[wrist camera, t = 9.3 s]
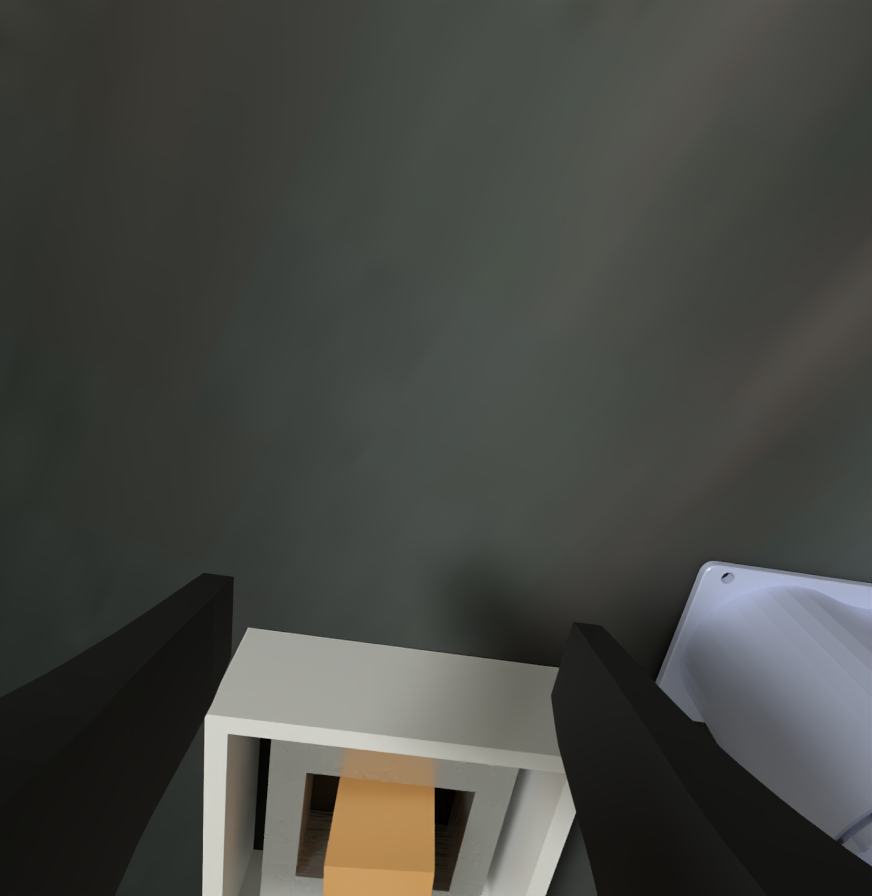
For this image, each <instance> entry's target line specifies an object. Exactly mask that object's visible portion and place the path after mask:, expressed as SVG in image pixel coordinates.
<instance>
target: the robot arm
mask: <svg viewBox="0 0 872 896" xmlns="http://www.w3.org/2000/svg"><path fill="white" fill-rule="evenodd" d="M725 573H729V574H728V575H727V576H726V577H724V578H721V577H722V576H723V575H724V574H725ZM233 582H234V577H230V576H223V575H215V574H208V573H203V574H202V575H200V576H199V577H197V578H196V579H194V580H193V581H191V582H190V583H188V584H187V585H185V586H184V587H182V588H181V589H179V590H178V591H176V592H175V593H174V594H172V595H171V596H169V597H168V598H166V599H165V600H163V601H162V602H160V603H159V604H158V605H156V606H155V607H153V608H152V609H150V610H149V611H147V612H146V613H144V614H143V615H141V616H140V617H138V618H137V619H135V620H134V621H132V622H131V623H129V624H128V625H126V626H125V627H123V628H122V629H120V630H118V631H117V632H115V633H114V634H112V635H111V636H109V637H107V638H106V639H104V640H102V641H101V642H99V643H97V644H96V645H94V646H92V647H91V648H89V649H87V650H86V651H84V652H82V653H81V654H79V655H78V656H76V657H74V658H73V659H71V660H69V661H68V662H66V663H64V664H62V665H61V666H59V667H57V668H55V669H54V670H52V671H50V672H48V673H46V674H44V675H43V676H41V677H39V678H37V679H35V680H33V681H32V682H30V683H28V684H26V685H24V686H22V687H20V688H18V689H16V690H14V691H12V692H10V693H8V694H6V695H4V696H2V697H0V896H115V894H116V892H117V889H118V887H119V885H120V882H121V880H122V878H123V876H124V873H125V871H126V869H127V867H128V864H129V862H130V860H131V857H132V855H133V853H134V851H135V848H136V846H137V844H138V842H139V840H140V838H141V836H142V834H143V832H144V830H145V828H146V826H147V824H148V822H149V820H150V818H151V816H152V814H153V812H154V810H155V809H156V807H157V805H158V803H159V801H160V799H161V798H162V796H163V794H164V792H165V790H166V788H167V786H168V785H169V783H170V781H171V779H172V777H173V775H174V774H175V772H176V770H177V768H178V766H179V764H180V763H181V761H182V759H183V757H184V755H185V753H186V752H187V750H188V748H189V746H190V744H191V742H192V740H193V739H194V737H195V735H196V733H197V731H198V729H199V727H200V726H201V724H202V722H203V720H204V718H205V716H206V714H207V712H208V710H209V709H210V707H211V705H212V703H213V700H214V698H215V695H216V693H217V691H218V688H219V686H220V683H221V681H222V678H223V676H224V673H225V670H226V668H227V665H228V663H229V660H230V658H231V645H232V614H233ZM551 701H552V709H553V716H554V723H555V729H556V736H557V742H558V747H559V751H560V755H561V758H562V762H563V766H564V770H565V773H566V777H567V781H568V785H569V788H570V792H571V795H572V799H573V803H574V806H575V810H576V814H577V817H578V821H579V825H580V828H581V832H582V835H583V839H584V843H585V846H586V850H587V854H588V857H589V861H590V865H591V869H592V873H593V877H594V882H595V886H596V890H597V895H598V896H872V583H865V582H858V581H851V580H844V579H837V578H830V577H823V576H816V575H809V574H802V573H795V572H788V571H781V570H775V569H768V568H761V567H754V566H747V565H740V564H733V563H726V562H719V561H710V562H707V563H705V564H704V565H703V566H702V567H701V569H700V570H699V573H698V575H697V578H696V580H695V583H694V586H693V588H692V591H691V593H690V596H689V598H688V601H687V603H686V606H685V608H684V611H683V613H682V616H681V619H680V621H679V624H678V626H677V629H676V631H675V634H674V636H673V639H672V641H671V644H670V647H669V649H668V652H667V654H666V657H665V659H664V662H663V664H662V667H661V669H660V672H659V674H658V677H657V680H656V682H654V681H653V680H652V679H651V678H650V677H649V676H648V675H647V673H646V672H645V671H644V670H643V669H642V668H641V667H640V666H639V665H638V664H637V663H636V662H635V661H634V660H633V658H632V657H631V656H630V655H629V654H628V653H627V652H626V651H625V650H624V649H623V648H622V647H621V646H620V645H619V643H618V642H617V641H616V640H615V639H614V638H613V637H612V636H611V635H610V634H609V633H608V632H607V631H606V630H605V629H604V628H603V627H602V626H600V625H592V624H584V623H577V622H573V624H572V628H571V631H570V634H569V638H568V641H567V644H566V647H565V651H564V654H563V657H562V660H561V664H560V667H559V670H558V673H557V677H556V680H555V683H554V687H553V690H552V693H551ZM693 721H698V722H705V723H706V725H707V727H708V728H709V730H710V732H711V734H712V735H713V737H714V739H715V741H716V742H717V743H716V742H715V741H714V740H713V739H711V738H710V737H709V736H708V735H707V734H706V733H705V732H704V731H703V730H702V729H701V728H700V727H699V726H698V725H697V724H696V723H695V722H693Z"/></svg>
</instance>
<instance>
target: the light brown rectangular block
mask: <svg viewBox="0 0 872 896" xmlns="http://www.w3.org/2000/svg"><path fill="white" fill-rule="evenodd" d="M434 873H435V787H427V786H419V785H410V784H401V783H392V782H384V781H375V780H366V779H357V778H349V777H340V780H339V786H338V792H337V797H336V803H335V808H334V814H333V819H332V825H331V830H330V836H329V841H328V847H327V852H326V858H325V863H324V881H323V896H431V894H432V887H433V880H434Z"/></svg>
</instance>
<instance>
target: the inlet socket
mask: <svg viewBox="0 0 872 896" xmlns="http://www.w3.org/2000/svg"><path fill="white" fill-rule="evenodd" d="M518 771H519V768H515V767H506V766H498V765H489V764H481V763H472V762H464V761H455V760H447V759H438V758H430V757H421V756H413V755H404V754H396V753H387V752H378V751H370V750H361V749H353V748H344V747H336V746H327V745H319V744H310V743H302V742H293V741H285V740H276V739H271V751H270V765H269V779H268V793H267V806H266V820H265V834H264V848H263V862H262V875H261V889H260V896H323V881H324V863H325V858H326V852H327V847H328V841H329V836H330V830H331V825H332V819H333V814H334V812H328V811H319V810H310V807H311V799H312V790H313V781H314V774H322V775H331V776H340V777H349V778H357V779H366V780H375V781H384V782H392V783H401V784H410V785H419V786H427V787H436V788H445V789H454V790H456V792H455V796H454V800H453V804H452V808H451V812H450V816H449V820H448V824H447V825H446V824H437V823H435V873H434V880H433V887H432V894H431V896H481V894H482V891H483V887H484V884H485V881H486V877H487V874H488V871H489V867H490V864H491V861H492V857H493V854H494V851H495V847H496V844H497V841H498V837H499V834H500V831H501V827H502V824H503V821H504V817H505V814H506V811H507V807H508V804H509V801H510V797H511V794H512V791H513V787H514V784H515V781H516V777H517V774H518Z"/></svg>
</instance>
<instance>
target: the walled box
mask: <svg viewBox="0 0 872 896" xmlns="http://www.w3.org/2000/svg"><path fill="white" fill-rule="evenodd" d="M558 670H559V668H557V667H549V666H541V665H534V664H526V663H518V662H510V661H503V660H495V659H487V658H480V657H472V656H464V655H456V654H449V653H441V652H433V651H425V650H418V649H410V648H402V647H394V646H387V645H379V644H371V643H364V642H356V641H348V640H340V639H333V638H325V637H317V636H309V635H302V634H294V633H286V632H279V631H271V630H263V629H255V628H248V629H247V631H246V633H245V635H244V637H243V639H242V641H241V643H240V645H239V647H238V649H237V651H236V653H235V655H234V657H233V659H232V661H231V663H230V665H229V667H228V669H227V671H226V673H225V675H224V677H223V679H222V681H221V683H220V686H219V688H218V691H217V693H216V695H215V698H214V700H213V703H212V705H211V707H210V709H209V710H208V712H207V714H206V716H205V751H204V826H203V896H260V889H261V875H262V862H263V850H255V849H253V847H254V831H255V815H256V799H257V783H258V767H259V751H260V738H268V739H276V740H285V741H293V742H302V743H310V744H319V745H327V746H336V747H344V748H353V749H361V750H370V751H378V752H387V753H396V754H404V755H413V756H421V757H430V758H438V759H447V760H455V761H464V762H472V763H481V764H489V765H498V766H506V767H515V768H519V771H518V774H517V777H516V781H515V784H514V787H513V791H512V794H511V797H510V801H509V804H508V807H507V811H506V814H505V817H504V821H503V824H502V827H501V831H500V834H499V837H498V841H497V844H496V847H495V851H494V854H493V857H492V861H491V864H490V867H489V871H488V874H487V877H486V881H485V884H484V887H483V891H482V894H481V896H545V895H546V893H547V890H548V887H549V884H550V882H551V879H552V876H553V874H554V871H555V868H556V865H557V863H558V860H559V857H560V855H561V852H562V849H563V846H564V844H565V841H566V838H567V835H568V833H569V830H570V827H571V825H572V822H573V819H574V816H575V814H576V810H575V806H574V803H573V799H572V795H571V792H570V788H569V785H568V781H567V777H566V773H565V770H564V766H563V762H562V758H561V755H560V751H559V747H558V742H557V736H556V729H555V723H554V716H553V709H552V701H551V693H552V690H553V687H554V683H555V680H556V677H557V673H558Z"/></svg>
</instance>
